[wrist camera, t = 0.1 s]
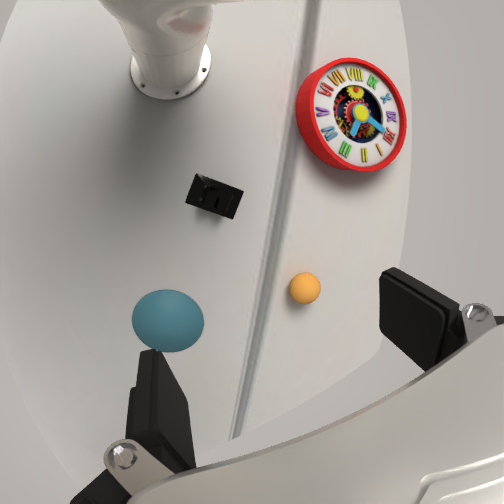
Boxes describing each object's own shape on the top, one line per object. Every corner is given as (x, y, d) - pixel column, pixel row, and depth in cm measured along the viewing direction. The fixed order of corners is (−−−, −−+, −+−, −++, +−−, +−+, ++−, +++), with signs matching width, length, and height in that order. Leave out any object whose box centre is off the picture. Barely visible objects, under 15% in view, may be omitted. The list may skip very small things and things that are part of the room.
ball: (282, 273, 52) (294, 285, 47) (310, 264, 53) (324, 275, 47) (288, 299, 54) (298, 313, 48) (314, 290, 54) (327, 302, 49)
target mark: (121, 301, 46) (121, 301, 46) (190, 280, 48) (190, 281, 48) (148, 358, 50) (148, 358, 50) (212, 341, 52) (212, 341, 52)
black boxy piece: (170, 204, 44) (168, 208, 40) (186, 160, 43) (187, 160, 39) (241, 229, 48) (247, 235, 44) (258, 188, 47) (265, 190, 43)
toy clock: (335, 36, 36) (417, 102, 42) (319, 47, 41) (398, 104, 48) (289, 133, 39) (384, 192, 46) (276, 136, 45) (365, 188, 51)
